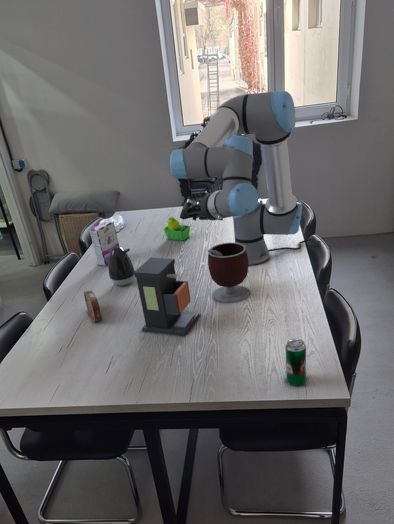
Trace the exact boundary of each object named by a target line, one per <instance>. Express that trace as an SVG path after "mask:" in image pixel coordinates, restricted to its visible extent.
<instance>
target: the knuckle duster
mask: <svg viewBox="0 0 394 524" xmlns="http://www.w3.org/2000/svg"><path fill="white" fill-rule="evenodd" d="M105 221H113V222H114V226H115V230H116V233H119V232H120V230H122V229H123V228H124V227H125V225H126V224H125V223H126V222H127V220H126V219H125V220H124V218H123V216H122V215H113V216H111V217H108V218H103V219H101V220H100V221H99V222H98V225H99V224H101V223H103V222H105Z"/></svg>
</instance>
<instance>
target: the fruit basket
mask: <svg viewBox="0 0 394 524" xmlns="http://www.w3.org/2000/svg"><path fill="white" fill-rule="evenodd" d="M190 229H191V225H185V224H180V221H179V220H178V219H177V218H175V217H174V216H170V217H168V219H167V226H165V227H164V228H162V230H163V232H164V233H165V236H166V238H167V239H168V240H174V241H181V242H183V241H184V240H186V239H187V238H189V236H190Z"/></svg>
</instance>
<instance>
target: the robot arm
mask: <svg viewBox="0 0 394 524" xmlns="http://www.w3.org/2000/svg"><path fill="white" fill-rule="evenodd" d="M295 107H296V106H295V101H294V99H293V96H292V95H291V93H289V91H286V90H273V91H266V92H255V93H244V94H239V95H236V96H233V97H231V98H229V99H228V100H226V101H224V102H222V103H221V104H220V105H219V106H218V107H217V108H216V109H214V111H212V113H211V115H210V117H209V122H208V123H207V124H206V125H205V126H204V128H203V129H202V130H201V131H200V132H199V133H198V134H197V136H196V137H195V138H194V139H193V140H192V141H191V143H189V145H188V146H187V147H186V148H178V149H177V148H176V149H173V150H172V152H171V153H170V156H169V168H170V173H171V175H172V176H173V177H174V178H175V179H186V180H190V179H209V178H222V189H220V190H216V191H214V192H210V193H207V194H205V195H204V196H203V197H202V198H200V199H199V198H198V199H196V200H195V199H194V198H193V197H192V196H187V199H186V201H185V202H184V203H183V206H182V209H181V211H180V214H179V219H180V220H187V219H192V221H197V219H198V220H199V221H224V219H227V218H232V221H233V222H232V223H233V233H234V243H240V244H243V245H244V246H245V247H246V251H247V255H248V266H256V265H260V264H262V263H265V262H266V261H268V260H269V258H270V252H275V251H283V250H291V251H296V250H300V249H301V248H302V246H301V245H302V244H304V243H307V242H309V241H312V240H311V239H312V238H307V239H304V240H301V241H299V242H298V247H289V246H288V247H287V246H286V247H285V246H284V247H277V248H270V249H269V247H268V245H267V243H266V241H265V235H271V236H272V235H273V236H274V235H277V236H279V235H280V236H281V235H282V236H283V235H284V236H289V235H296V234H297V233H299V231H300V226H301V220H302V213H303V204H302V202H298V199H297V197H296V196H295V195H294V194H293V188H292V179H291V178H292V177H291V168H290V157H289V144H288V139H289V138H290V137H291V136H292V132H293V131H294V130H295V129H296V121H297V120H296V108H295ZM246 135H254V137H255V141H256V143H258V144H259V145H260V146H261V147H260V148H261V154H262V160H263V161H262V162H263V168H264V175H265V182H266V188H267V189H266V190H267V197H268V199H267V200H266V202H265V203H264V202H263V199H262V198H259V194H258V192H257V189H256V187H255V186H254V185H253V184H252V175H253V162H254V142H253V140H252V139H251V138H250V137H248V136H246Z"/></svg>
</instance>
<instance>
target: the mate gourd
mask: <svg viewBox="0 0 394 524" xmlns="http://www.w3.org/2000/svg"><path fill="white" fill-rule="evenodd" d="M207 252H208V253H207V267H208V270H209V275H210V278H211V280H212V281H213V282H214V283H215V284H216V285H218V286H219V288H217V289H216V290H215V291H214V293H213V297H214V299H215V300H216V301H218V302H220V303H227V304H228V303H236V302H240V301H242V300H244V299H246V298H248V295H249V290H248V288H246V287H245V286H243V285H241V284H243V282H244V281H245V279H246V278H247V277H248V273H249V265H248V255H247V251H246V247H245V246H244V245H243V244H240V243H235V242H222V243H219V244H215V245H213V246H211V247H210V248H209V249H208V250H207Z"/></svg>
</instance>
